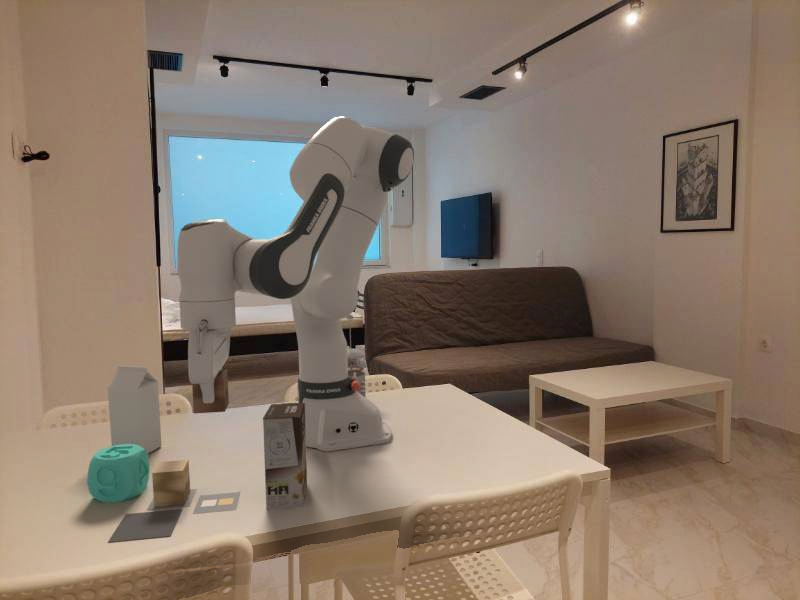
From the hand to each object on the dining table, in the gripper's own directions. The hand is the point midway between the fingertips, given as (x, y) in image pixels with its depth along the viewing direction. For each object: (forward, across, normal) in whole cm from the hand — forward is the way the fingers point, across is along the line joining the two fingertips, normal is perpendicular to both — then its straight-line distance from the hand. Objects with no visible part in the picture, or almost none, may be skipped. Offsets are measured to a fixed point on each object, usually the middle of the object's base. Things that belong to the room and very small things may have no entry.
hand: (212, 396), depth 96 cm
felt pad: (+19, -6, +10) cm, 22 cm away
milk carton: (+19, +30, +21) cm, 41 cm away
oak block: (+19, +3, +8) cm, 21 cm away
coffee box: (+19, 0, -12) cm, 23 cm away
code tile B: (+19, +3, +8) cm, 21 cm away
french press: (+19, +59, -29) cm, 69 cm away
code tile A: (+19, 0, 0) cm, 19 cm away
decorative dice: (+19, +8, +18) cm, 28 cm away
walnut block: (+2, 0, 0) cm, 2 cm away
